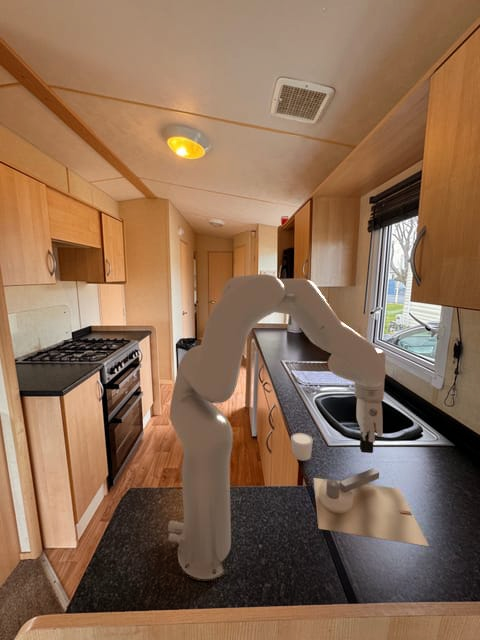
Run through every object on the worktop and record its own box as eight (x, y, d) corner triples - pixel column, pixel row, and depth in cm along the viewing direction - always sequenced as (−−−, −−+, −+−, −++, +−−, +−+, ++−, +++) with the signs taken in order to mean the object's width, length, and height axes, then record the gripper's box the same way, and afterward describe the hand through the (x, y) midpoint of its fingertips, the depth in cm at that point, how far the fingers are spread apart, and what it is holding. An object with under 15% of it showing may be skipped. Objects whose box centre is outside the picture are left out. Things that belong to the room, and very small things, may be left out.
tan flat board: (318, 534, 60) (318, 527, 60) (313, 482, 75) (313, 477, 75) (428, 552, 56) (429, 545, 55) (399, 493, 71) (399, 487, 71)
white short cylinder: (287, 462, 84) (287, 441, 83) (293, 450, 90) (294, 430, 89) (309, 468, 81) (310, 447, 80) (314, 455, 87) (315, 435, 86)
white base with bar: (334, 518, 62) (335, 500, 61) (312, 494, 69) (312, 477, 68) (388, 493, 69) (390, 476, 68) (363, 473, 76) (364, 458, 76)
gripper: (392, 404, 68) (388, 470, 71) (375, 382, 83) (372, 437, 85) (361, 402, 70) (358, 466, 72) (349, 381, 84) (347, 435, 87)
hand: (366, 450), depth 79 cm, fingers closed
